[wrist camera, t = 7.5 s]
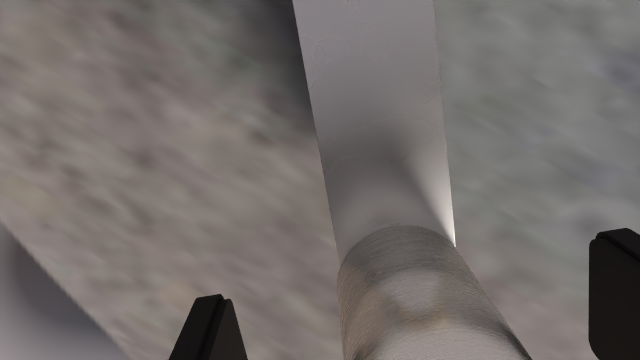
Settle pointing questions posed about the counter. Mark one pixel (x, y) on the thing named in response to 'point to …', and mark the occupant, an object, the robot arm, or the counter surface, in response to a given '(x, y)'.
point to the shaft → (392, 186)
